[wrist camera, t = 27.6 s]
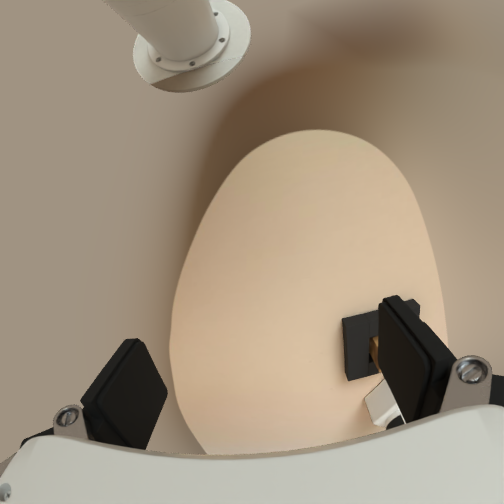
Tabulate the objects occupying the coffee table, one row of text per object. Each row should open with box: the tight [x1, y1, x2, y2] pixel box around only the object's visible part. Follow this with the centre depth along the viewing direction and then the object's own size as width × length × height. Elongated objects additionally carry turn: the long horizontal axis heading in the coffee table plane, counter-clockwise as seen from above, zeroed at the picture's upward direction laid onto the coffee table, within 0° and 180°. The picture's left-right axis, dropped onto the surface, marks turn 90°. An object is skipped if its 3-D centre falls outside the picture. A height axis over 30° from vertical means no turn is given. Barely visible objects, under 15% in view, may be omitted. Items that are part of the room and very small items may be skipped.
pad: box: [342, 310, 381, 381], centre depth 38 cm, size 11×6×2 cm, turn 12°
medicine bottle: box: [365, 379, 406, 430], centre depth 37 cm, size 7×7×12 cm
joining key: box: [369, 336, 381, 373], centre depth 36 cm, size 4×4×6 cm
